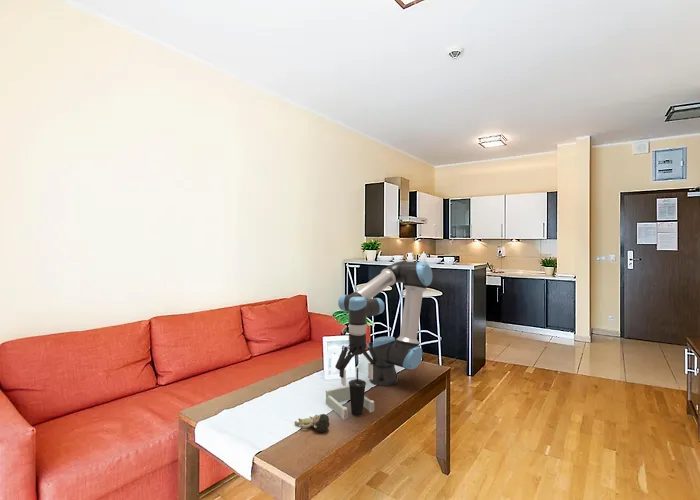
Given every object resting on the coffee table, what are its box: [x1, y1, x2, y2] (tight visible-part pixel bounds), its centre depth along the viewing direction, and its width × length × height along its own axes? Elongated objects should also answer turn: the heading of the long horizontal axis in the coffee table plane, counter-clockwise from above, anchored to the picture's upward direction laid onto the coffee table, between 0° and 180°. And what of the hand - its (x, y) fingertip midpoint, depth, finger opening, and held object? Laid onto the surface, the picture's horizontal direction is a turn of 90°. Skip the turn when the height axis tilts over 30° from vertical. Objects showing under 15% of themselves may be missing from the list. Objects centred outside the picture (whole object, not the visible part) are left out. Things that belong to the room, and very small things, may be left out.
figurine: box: [294, 413, 330, 433], centre depth 152 cm, size 8×6×15 cm
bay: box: [325, 384, 375, 421], centre depth 170 cm, size 15×18×6 cm
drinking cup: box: [348, 367, 367, 417], centre depth 164 cm, size 8×8×20 cm
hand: (357, 381), depth 163 cm, fingers open, 13 cm apart
